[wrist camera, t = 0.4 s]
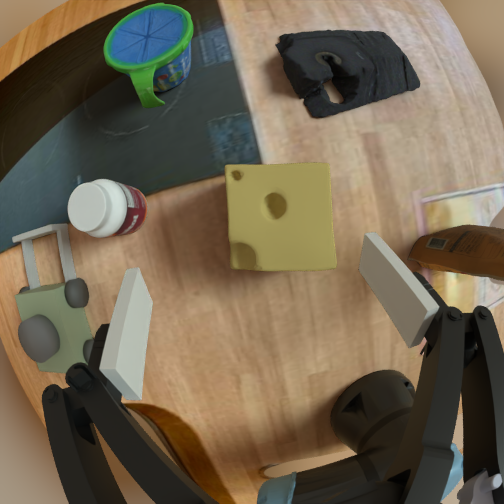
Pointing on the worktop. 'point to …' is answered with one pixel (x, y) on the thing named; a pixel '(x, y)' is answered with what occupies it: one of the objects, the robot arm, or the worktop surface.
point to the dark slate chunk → (345, 68)
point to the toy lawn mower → (53, 309)
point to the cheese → (280, 217)
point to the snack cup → (152, 49)
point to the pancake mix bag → (463, 251)
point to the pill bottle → (107, 208)
